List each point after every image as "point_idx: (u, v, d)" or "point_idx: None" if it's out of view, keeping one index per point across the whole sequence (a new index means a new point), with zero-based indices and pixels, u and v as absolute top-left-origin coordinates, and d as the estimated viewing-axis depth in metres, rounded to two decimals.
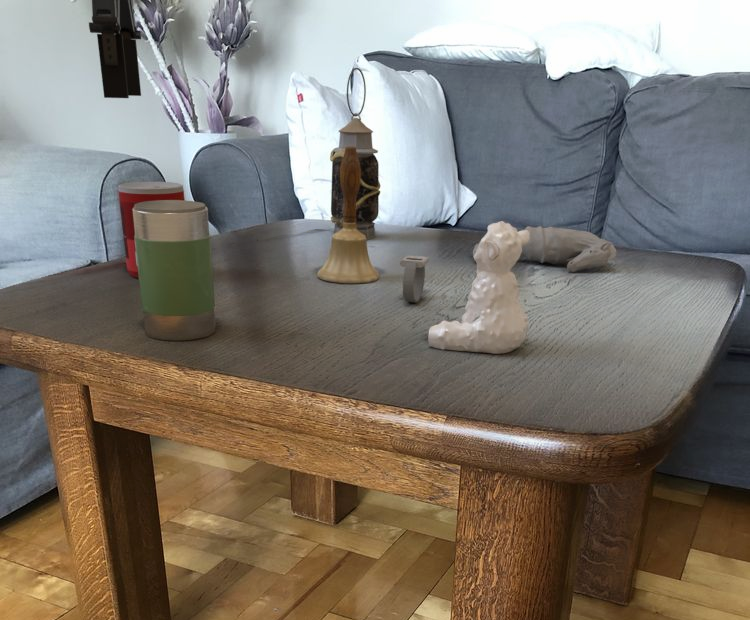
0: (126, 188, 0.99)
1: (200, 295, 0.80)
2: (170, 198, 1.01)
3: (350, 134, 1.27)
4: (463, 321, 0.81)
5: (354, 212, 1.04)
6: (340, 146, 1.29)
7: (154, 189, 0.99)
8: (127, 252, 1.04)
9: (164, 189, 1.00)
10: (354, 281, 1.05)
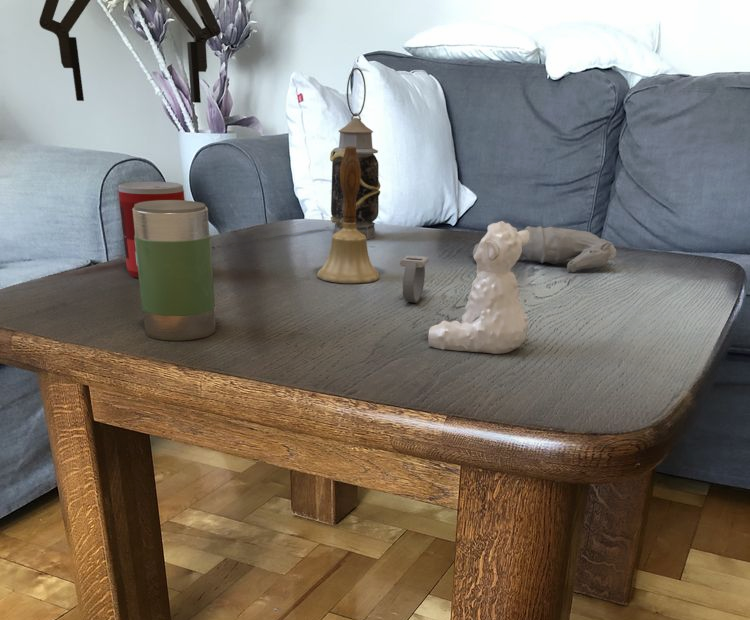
0: (126, 188, 0.99)
1: (200, 295, 0.80)
2: (170, 198, 1.01)
3: (350, 134, 1.27)
4: (463, 321, 0.81)
5: (354, 212, 1.04)
6: (340, 146, 1.29)
7: (154, 189, 0.99)
8: (127, 252, 1.04)
9: (164, 189, 1.00)
10: (354, 281, 1.05)
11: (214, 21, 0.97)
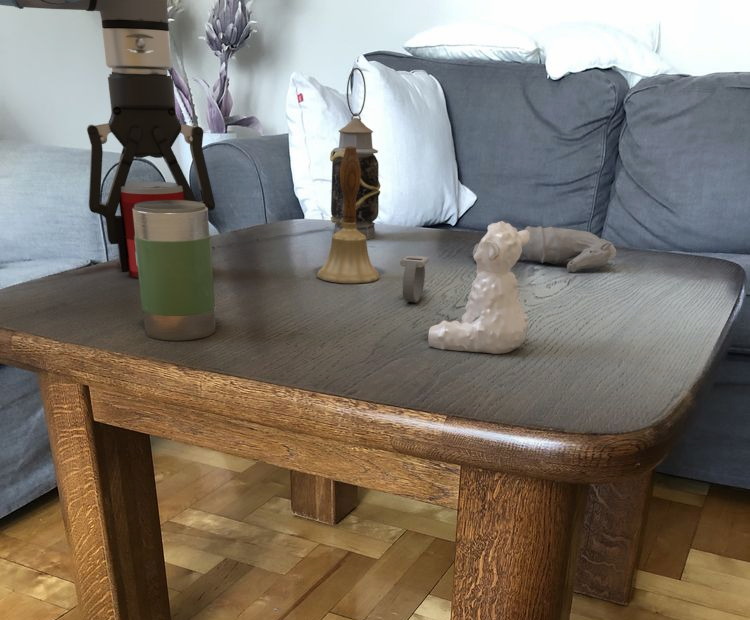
0: (126, 188, 0.99)
1: (200, 295, 0.80)
2: (170, 198, 1.01)
3: (350, 134, 1.27)
4: (463, 321, 0.81)
5: (354, 212, 1.04)
6: (340, 146, 1.29)
7: (154, 189, 0.99)
8: (127, 252, 1.04)
9: (164, 189, 1.00)
10: (354, 281, 1.05)
11: (211, 198, 1.04)
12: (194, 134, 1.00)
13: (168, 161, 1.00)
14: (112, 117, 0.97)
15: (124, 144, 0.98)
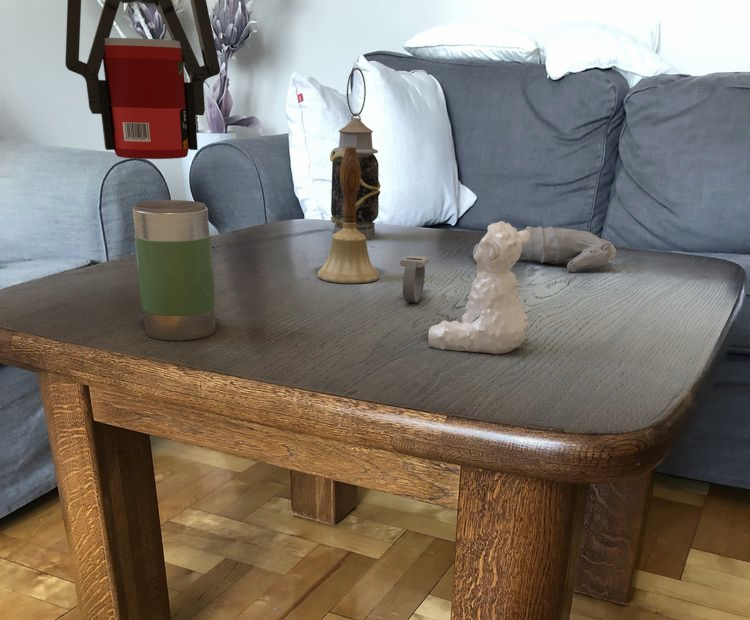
0: (111, 39, 0.81)
1: (200, 295, 0.80)
2: (165, 53, 0.82)
3: (350, 134, 1.27)
4: (463, 321, 0.81)
5: (354, 212, 1.04)
6: (340, 146, 1.29)
7: (145, 40, 0.80)
8: (113, 124, 0.85)
9: (158, 41, 0.81)
10: (354, 281, 1.05)
11: (215, 59, 0.85)
12: None
13: (163, 7, 0.81)
14: None
15: None
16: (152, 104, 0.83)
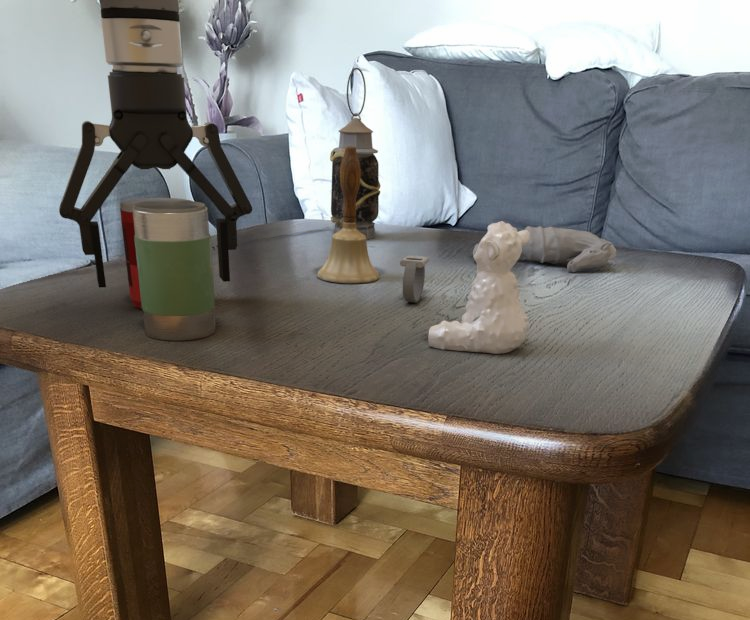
0: (129, 206, 0.86)
1: (200, 295, 0.80)
2: None
3: (350, 134, 1.27)
4: (463, 321, 0.81)
5: (354, 212, 1.04)
6: (340, 146, 1.29)
7: None
8: (130, 279, 0.90)
9: None
10: (354, 281, 1.05)
11: (246, 200, 0.90)
12: (208, 134, 0.86)
13: (186, 169, 0.86)
14: (113, 122, 0.83)
15: (123, 148, 0.84)
16: None
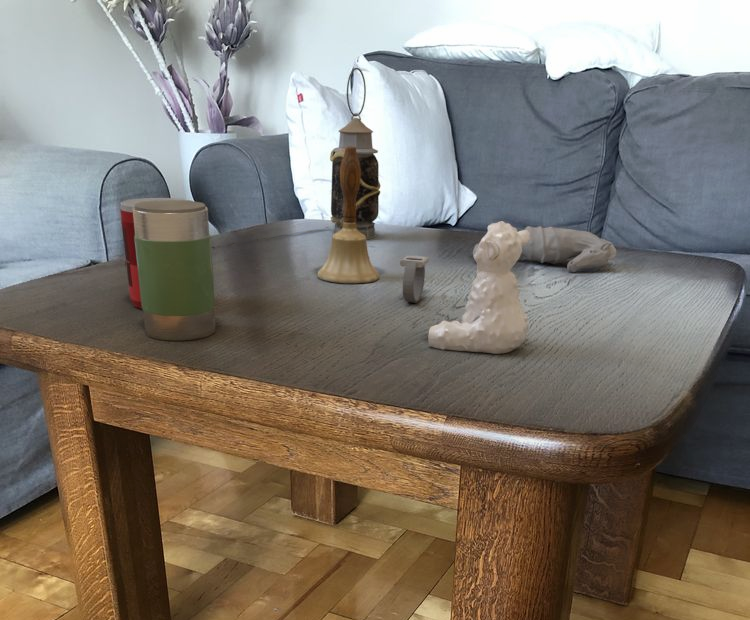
0: (129, 206, 0.86)
1: (200, 295, 0.80)
2: None
3: (350, 134, 1.27)
4: (463, 321, 0.81)
5: (354, 212, 1.04)
6: (340, 146, 1.29)
7: None
8: (130, 279, 0.90)
9: None
10: (354, 281, 1.05)
11: None
12: None
13: None
14: None
15: None
16: None
